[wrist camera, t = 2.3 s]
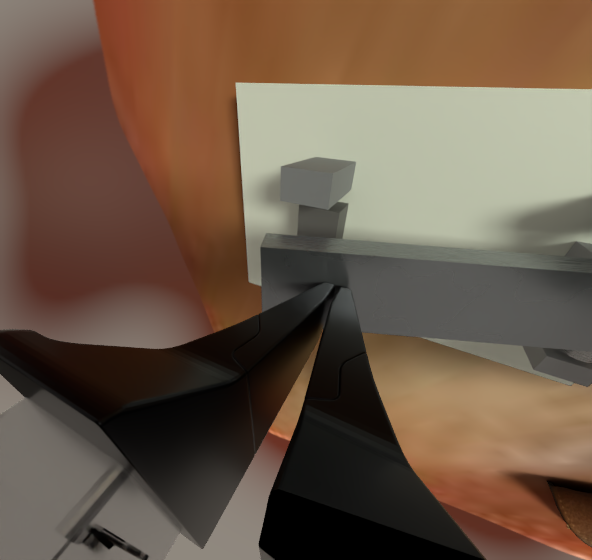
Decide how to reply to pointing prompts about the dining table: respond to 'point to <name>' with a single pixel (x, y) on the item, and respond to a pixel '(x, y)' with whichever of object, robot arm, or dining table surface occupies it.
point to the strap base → (423, 176)
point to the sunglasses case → (575, 511)
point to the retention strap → (441, 290)
